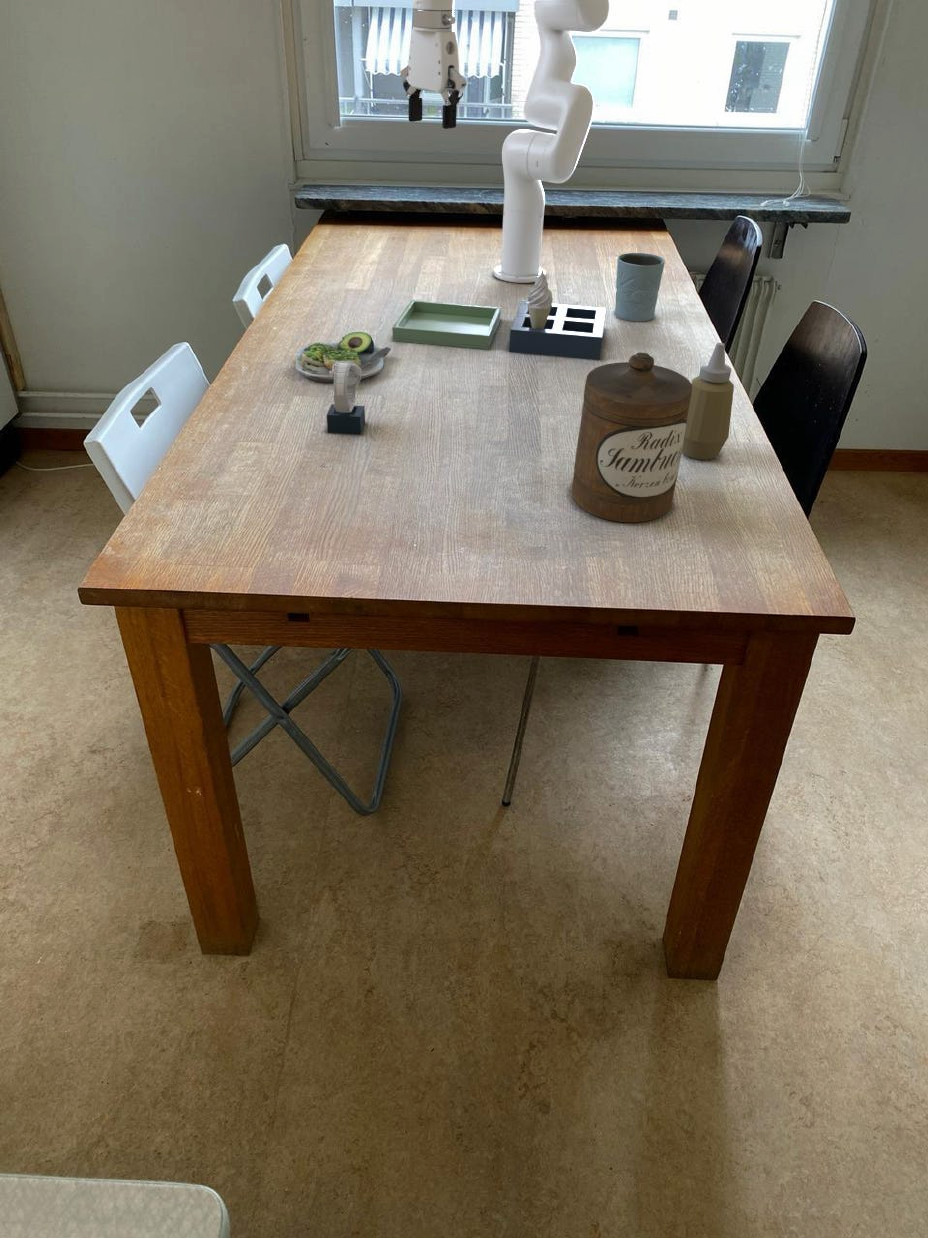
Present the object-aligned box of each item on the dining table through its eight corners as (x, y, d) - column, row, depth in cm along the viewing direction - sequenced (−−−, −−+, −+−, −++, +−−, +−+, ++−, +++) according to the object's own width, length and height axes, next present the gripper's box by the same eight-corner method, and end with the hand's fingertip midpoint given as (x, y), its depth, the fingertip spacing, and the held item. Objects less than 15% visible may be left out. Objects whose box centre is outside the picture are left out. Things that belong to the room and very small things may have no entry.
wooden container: (603, 531, 128) (624, 381, 115) (553, 483, 139) (568, 341, 126) (692, 512, 133) (721, 366, 120) (637, 467, 144) (659, 329, 131)
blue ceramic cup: (636, 325, 197) (644, 268, 190) (600, 312, 203) (607, 256, 196) (665, 316, 203) (674, 260, 195) (630, 304, 209) (638, 249, 201)
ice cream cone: (549, 341, 188) (555, 265, 179) (548, 350, 184) (555, 273, 175) (524, 339, 188) (530, 264, 179) (523, 348, 184) (529, 271, 175)
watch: (367, 418, 156) (364, 355, 149) (359, 439, 149) (356, 374, 143) (334, 416, 156) (330, 353, 150) (325, 437, 150) (320, 372, 143)
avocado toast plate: (389, 390, 165) (388, 365, 163) (289, 389, 165) (287, 364, 162) (391, 351, 181) (391, 328, 178) (300, 349, 180) (298, 326, 177)
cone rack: (519, 321, 197) (521, 300, 194) (603, 329, 195) (606, 307, 192) (508, 351, 183) (510, 329, 180) (599, 359, 181) (602, 337, 178)
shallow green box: (411, 312, 200) (411, 299, 198) (500, 320, 197) (500, 307, 196) (392, 340, 186) (392, 327, 184) (488, 349, 183) (488, 335, 182)
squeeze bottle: (729, 447, 151) (752, 340, 140) (718, 468, 145) (742, 357, 134) (680, 437, 153) (700, 331, 143) (668, 457, 147) (687, 347, 137)
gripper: (480, 24, 168) (476, 128, 178) (416, 17, 178) (416, 116, 188) (451, 25, 164) (448, 132, 174) (387, 17, 174) (388, 119, 184)
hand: (432, 124), depth 181 cm, fingers open, 9 cm apart
